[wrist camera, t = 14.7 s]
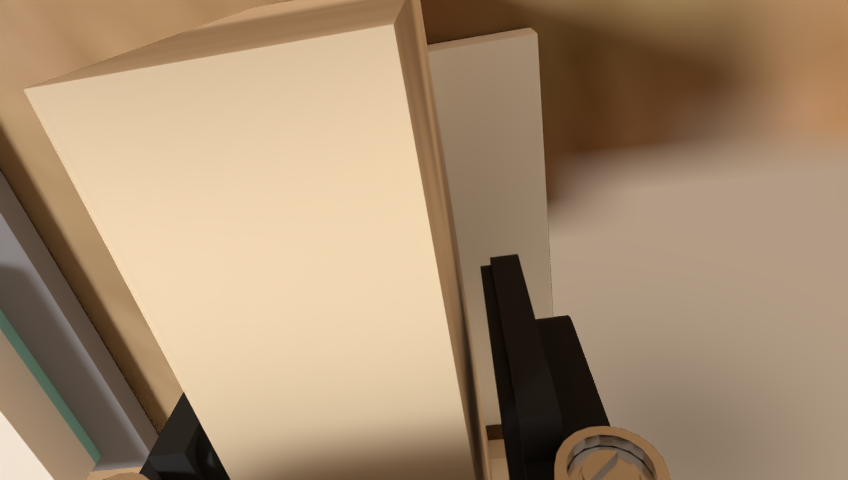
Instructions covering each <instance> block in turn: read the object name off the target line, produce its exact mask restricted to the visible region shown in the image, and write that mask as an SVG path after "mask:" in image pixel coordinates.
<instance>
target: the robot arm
mask: <svg viewBox="0 0 848 480" xmlns="http://www.w3.org/2000/svg"><path fill="white" fill-rule="evenodd" d="M490 264H491V265H485V266H480V269H481V277H482V284H483V292H484V299H485V307H486V314H487V322H488V329H489V337H490V344H491V352H492V359H493V367H494V374H495V381H496V389H497V396H498V403H499V410H500V417H501V424H502V431H503V438H504V446H505V453H506V460H507V467H508V474H509V480H671V479H670V474H669V471H668V469H667V467H666V464H665V462H664V459H663V458H662V456H661V455H660V454H659V453H658V452H657V450H656V449H655V448H654V447H653V446H652V445H651V444H650V443H648V442H647V441H646V440H644V439H643V438H641V437H640V436H638V435H636V434H634V433H632V432H629V431H627V430H624V429H621V428H615V427H610V424H609V421H608V418H607V416H606V413H605V410H604V408H603V405H602V402H601V399H600V397H599V394H598V391H597V388H596V386H595V383H594V380H593V377H592V375H591V372H590V370H589V367H588V364H587V361H586V358H585V355H584V353H583V350H582V347H581V344H580V342H579V339H578V336H577V334H576V331H575V328H574V326H573V323H572V320H571V318H570V317H569V316H568V315H566V316H559V317H549V318H541V319H535V315H534V312H533V308H532V304H531V301H530V297H529V293H528V289H527V286H526V282H525V278H524V275H523V271H522V267H521V264H520V260H519V256H518V254H512V255H505V256H497V257H490ZM103 480H230V478H229V476H228V474H227V472H226V470H225V468H224V466H223V465H222V463H221V461H220V459H219V457H218V455H217V453H216V451H215V449H214V448H213V446H212V444H211V442H210V440H209V438H208V436H207V434H206V433H205V431H204V429H203V427H202V425H201V423H200V421H199V419H198V417H197V416H196V414H195V412H194V410H193V408H192V406H191V404H190V402H189V400H188V399H187V397H186V395H185V393H184V392H183V394H182V396H181V398H180V399H179V401H178V403H177V405H176V407H175V408H174V410H173V412H172V414H171V416H170V417H169V419H168V421H167V423H166V425H165V426H164V428H163V430H162V432H161V434H160V435H159V437H158V439H157V441H156V443H155V444H154V446H153V448H152V450H151V451H150V453H149V455H148V458H147V460H146V462H145V463H144V465H143V467H142V469H141V471H140V472H139V474H138V473H133V472H131V473H123V474H117V475H114V476H112V477H109V478H106V479H103Z"/></svg>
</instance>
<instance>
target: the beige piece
mask: <svg viewBox="0 0 848 480" xmlns="http://www.w3.org/2000/svg"><path fill="white" fill-rule="evenodd" d="M23 90H24V92H25V93H26V95H27V97H28V99H29V101H30V103H31V105H32V107H33V108H34V110H35V112H36V114H37V116H38V118H39V120H40V122H41V124H42V125H43V127H44V129H45V131H46V133H47V135H48V137H49V139H50V141H51V142H52V144H53V146H54V148H55V150H56V152H57V154H58V156H59V157H60V159H61V161H62V163H63V165H64V167H65V169H66V171H67V173H68V174H69V176H70V178H71V180H72V182H73V184H74V186H75V188H76V190H77V191H78V193H79V195H80V197H81V199H82V201H83V203H84V205H85V206H86V208H87V210H88V212H89V214H90V216H91V218H92V220H93V222H94V223H95V225H96V227H97V229H98V231H99V233H100V235H101V237H102V238H103V240H104V242H105V244H106V246H107V248H108V250H109V252H110V254H111V255H112V257H113V259H114V261H115V263H116V265H117V267H118V269H119V271H120V272H121V274H122V276H123V278H124V280H125V282H126V284H127V286H128V287H129V289H130V291H131V293H132V295H133V297H134V299H135V301H136V303H137V304H138V306H139V308H140V310H141V312H142V314H143V316H144V318H145V319H146V321H147V323H148V325H149V327H150V329H151V331H152V333H153V335H154V336H155V338H156V340H157V342H158V344H159V346H160V348H161V350H162V352H163V353H164V355H165V357H166V359H167V361H168V363H169V365H170V367H171V368H172V370H173V372H174V374H175V376H176V378H177V380H178V382H179V384H180V385H181V387H182V389H183V391H184V393H185V395H186V397H187V399H188V400H189V402H190V404H191V406H192V408H193V410H194V412H195V414H196V416H197V417H198V419H199V421H200V423H201V425H202V427H203V429H204V431H205V433H206V434H207V436H208V438H209V440H210V442H211V444H212V446H213V448H214V449H215V451H216V453H217V455H218V457H219V459H220V461H221V463H222V465H223V466H224V468H225V470H226V472H227V474H228V476H229V478H230V480H509V474H508V467H507V460H506V453H505V446H504V439H499V440H489V441H488V438H487V432H486V425H485V419H484V412H483V406H482V399H481V393H480V386H479V380H478V373H477V367H476V360H475V354H474V347H473V341H472V334H471V328H470V321H469V315H468V308H467V302H466V295H465V289H464V282H463V276H462V269H461V263H460V256H459V250H458V243H457V237H456V230H455V224H454V217H453V211H452V204H451V198H450V191H449V185H448V178H447V172H446V165H445V159H444V152H443V146H442V139H441V133H440V126H439V120H438V113H437V107H436V100H435V94H434V87H433V81H432V74H431V68H430V61H429V55H428V48H427V42H426V35H425V29H424V22H423V16H422V9H421V3H420V0H293V1H288V2H282V3H277V4H271V5H266V6H260V7H255V8H250V9H248V10H245V11H242V12H239V13H236V14H234V15H231V16H228V17H225V18H222V19H219V20H217V21H214V22H211V23H208V24H205V25H203V26H200V27H197V28H194V29H191V30H189V31H186V32H183V33H180V34H177V35H174V36H172V37H169V38H166V39H163V40H160V41H158V42H155V43H152V44H149V45H146V46H143V47H141V48H138V49H135V50H132V51H129V52H127V53H124V54H121V55H118V56H115V57H113V58H110V59H107V60H104V61H101V62H98V63H96V64H93V65H90V66H87V67H84V68H82V69H79V70H76V71H73V72H70V73H67V74H65V75H62V76H59V77H56V78H53V79H51V80H48V81H45V82H42V83H39V84H36V85H34V86H31V87H28V88H25V89H23Z"/></svg>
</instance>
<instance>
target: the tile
mask: <svg viewBox="0 0 848 480" xmlns="http://www.w3.org/2000/svg"><path fill="white" fill-rule="evenodd" d="M101 456H102V455H101V454H100V453H99V451H98V450H97V448H96V447H95V445H94V444H93V442H92V441H91V440H90V438H89V437H88V435H87V434H86V432H85V431H84V429H83V428H82V427H81V425H80V424H79V422H78V421H77V419H76V418H75V416H74V415H73V414H72V412H71V411H70V409H69V408H68V406H67V405H66V403H65V402H64V401H63V399H62V398H61V396H60V395H59V393H58V392H57V390H56V389H55V388H54V386H53V385H52V383H51V382H50V380H49V379H48V377H47V376H46V375H45V373H44V372H43V370H42V369H41V367H40V366H39V364H38V363H37V362H36V360H35V359H34V357H33V356H32V354H31V353H30V351H29V350H28V349H27V347H26V346H25V344H24V343H23V341H22V340H21V338H20V337H19V336H18V334H17V333H16V331H15V330H14V328H13V327H12V325H11V324H10V323H9V321H8V320H7V318H6V317H5V315H4V314H3V312H2V311H1V310H0V480H86V479H87V477H88V476H89V474H90V473H91V471H92V470H93V468H94V466H95V465H96V463H97V462H98V460H99V459H100V457H101Z"/></svg>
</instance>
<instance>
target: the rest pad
mask: <svg viewBox="0 0 848 480" xmlns="http://www.w3.org/2000/svg"><path fill="white" fill-rule="evenodd" d="M427 48H428V55H429V61H430V68H431V74H432V81H433V87H434V94H435V100H436V107H437V113H438V120H439V126H440V133H441V139H442V146H443V152H444V159H445V165H446V172H447V178H448V185H449V191H450V198H451V204H452V211H453V217H454V224H455V230H456V237H457V243H458V250H459V256H460V263H461V269H462V276H463V282H464V289H465V295H466V302H467V308H468V315H469V321H470V328H471V334H472V341H473V347H474V354H475V360H476V367H477V373H478V380H479V386H480V393H481V399H482V406H483V412H484V419H485V425H496V424H501V417H500V410H499V403H498V396H497V389H496V381H495V374H494V367H493V359H492V352H491V344H490V337H489V329H488V322H487V314H486V307H485V299H484V292H483V284H482V277H481V269H480V266H485V265H491V264H490V257H497V256H505V255H512V254H518V256H519V260H520V264H521V267H522V271H523V275H524V278H525V282H526V286H527V289H528V293H529V297H530V301H531V304H532V308H533V312H534V315H535V319H541V318H549V317H553V303H552V284H551V267H550V249H549V231H548V213H547V195H546V178H545V160H544V142H543V124H542V107H541V89H540V71H539V53H538V36H537V33H536V32H535V31H534V30H533V29H532V28H531V27H530V28H524V29H518V30H512V31H506V32H500V33H495V34H489V35H483V36H477V37H471V38H465V39H460V40H454V41H448V42H442V43H436V44H430V45H427Z"/></svg>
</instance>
